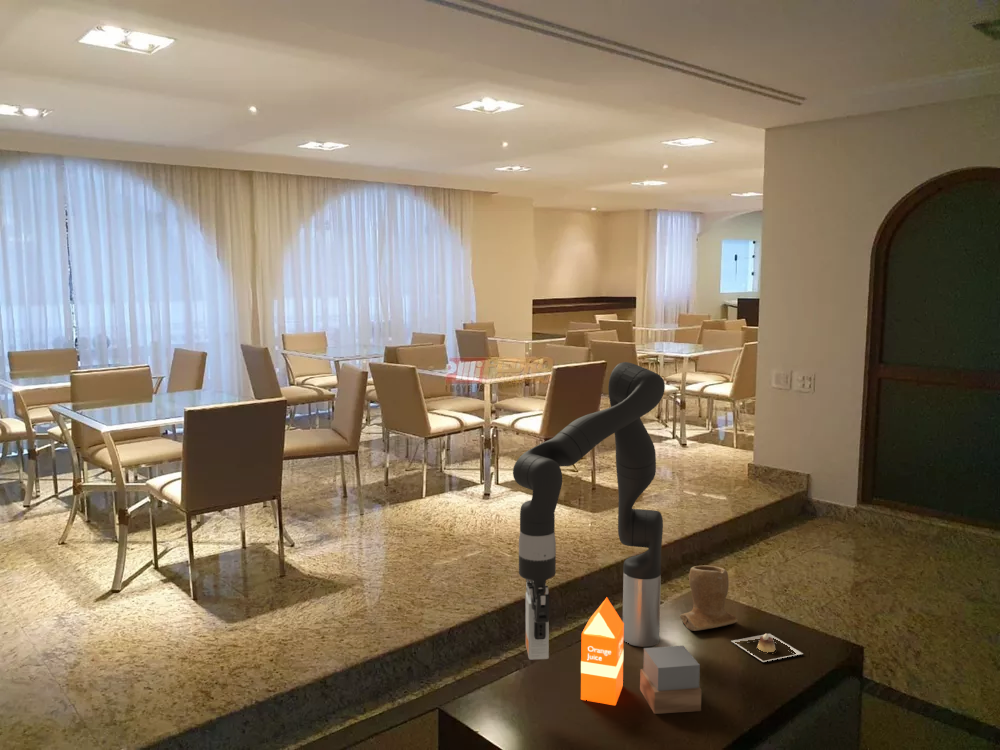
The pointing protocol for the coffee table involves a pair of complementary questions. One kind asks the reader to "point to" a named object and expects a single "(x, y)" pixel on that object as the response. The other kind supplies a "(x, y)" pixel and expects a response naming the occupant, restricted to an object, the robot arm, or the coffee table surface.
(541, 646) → the skincare box
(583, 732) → the coffee table surface
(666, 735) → the coffee table surface
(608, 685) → the orange juice
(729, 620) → the stone cup
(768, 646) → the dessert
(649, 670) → the gray top block
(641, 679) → the walnut base block
